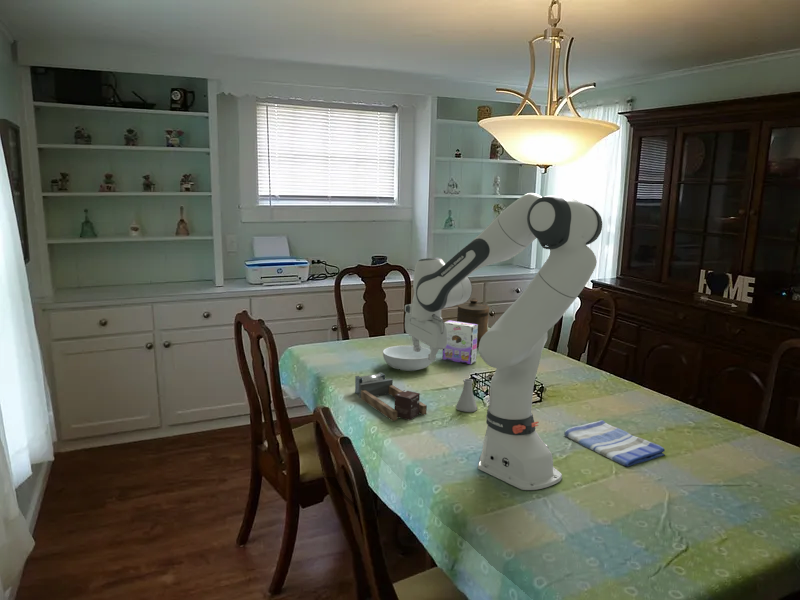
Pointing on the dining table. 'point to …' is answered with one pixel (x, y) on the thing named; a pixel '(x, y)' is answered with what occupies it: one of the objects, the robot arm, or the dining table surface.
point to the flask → (467, 398)
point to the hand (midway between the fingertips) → (424, 355)
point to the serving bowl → (406, 358)
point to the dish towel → (614, 443)
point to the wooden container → (474, 316)
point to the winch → (367, 380)
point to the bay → (380, 388)
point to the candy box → (461, 342)
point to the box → (407, 404)
